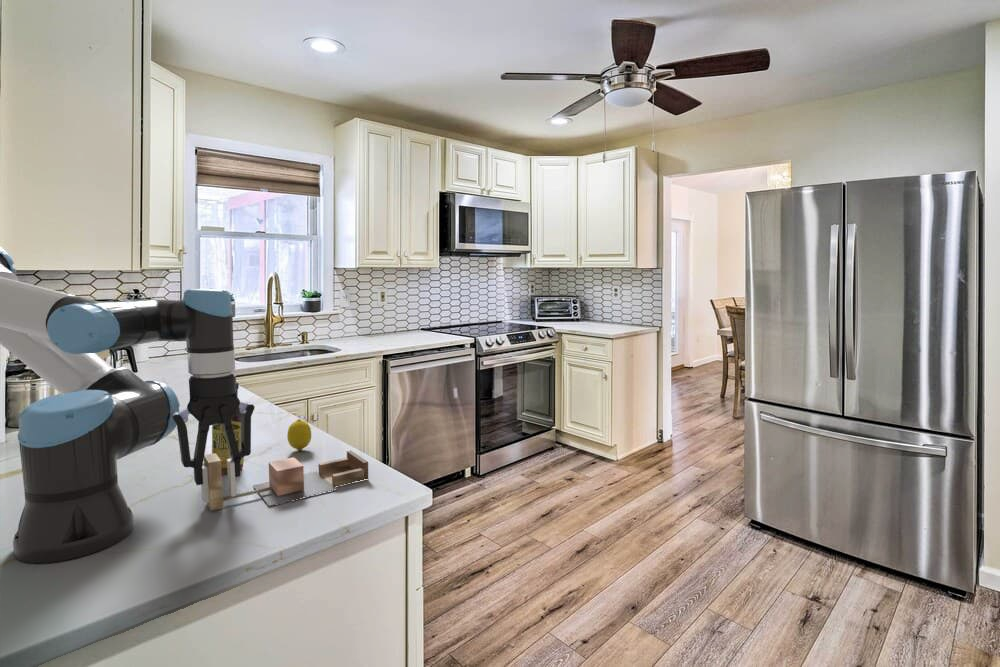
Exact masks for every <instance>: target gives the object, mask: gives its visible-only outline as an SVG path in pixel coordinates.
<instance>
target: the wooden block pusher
mask: <svg viewBox="0 0 1000 667" xmlns="http://www.w3.org/2000/svg"><path fill="white" fill-rule="evenodd" d="M203 464H205V465H206V466H207V469H208V486H209V502H207V503H206V504H207V506H208V509H209V510H210V511H211V512H212V511H216V510H219V509H223V508H224V501H229V500H233V499H234V500H235V499H237V498H242V497H246V496H251V495H255V494H258V493H260V492H264V491H269V490H273V491H274V492H275V493H276V494H277V496H280V495H285V494H289V493H293V492H297V491H301V490H304V474H305V473H304V472H305V471H304V465H303V464H302V463H301V462H299V460H298V459H296V457H289V458H288V457H287V458H284V459H280V460H279V459H278V460H275V461H270V462H269V461H268V482H269V486H270V487H266V488H261V489H257V490H255V489H254V490H253V489H252V490H249V491H244V492H239V493H236V496H233V497H231V495H230V494H229V495H226V496H223V477H222V475H223V474H222V473H221V460H220V459H219V457H218V456H217V454H216V453H213V454H212V453H208V454H204V460H203Z"/></svg>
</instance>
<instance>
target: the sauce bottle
mask: <svg viewBox="0 0 1000 667" xmlns="http://www.w3.org/2000/svg"><path fill="white" fill-rule="evenodd" d="M239 385H240V384H239V381H236V393H237V397H238V398H239V395H238V392H239V391H238V390H239V387H240V386H239ZM241 414H242V413H241V412H240V411H239V407H238V408H237V409H236V411H235V412H234V414H233V415H232V417H231V418H230V419H231V423H232V428H233V431H234V435H235V438H236V442H237V446H238V449H239V450H240V449H241ZM213 453H216V454H217V456H218V457H219V459H220V460H221V473H222V475H228V472H227V459H232V457H231V454H230V451H229V447H228V443H227V440H226V436H225V433H224V429H223V426H222V424H214V425H211V454H213ZM244 460H245V457H243V458H242V459H241V461H240V465H241V470H242V469H243V467H244Z"/></svg>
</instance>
